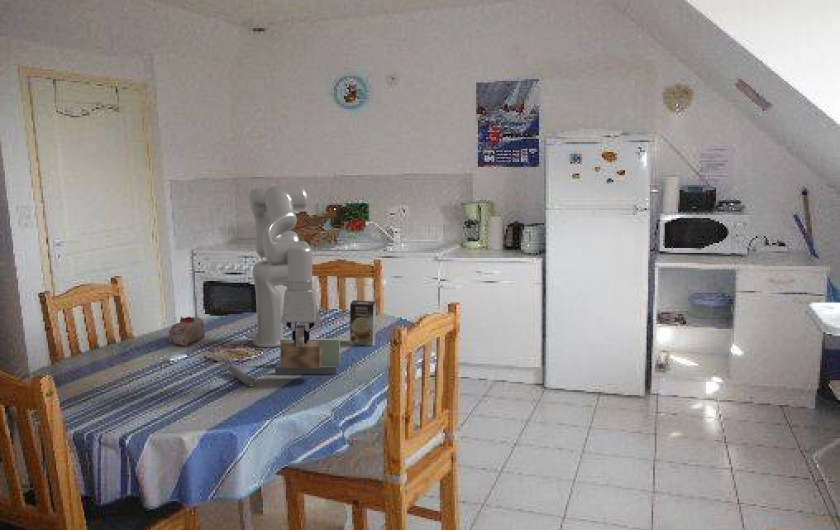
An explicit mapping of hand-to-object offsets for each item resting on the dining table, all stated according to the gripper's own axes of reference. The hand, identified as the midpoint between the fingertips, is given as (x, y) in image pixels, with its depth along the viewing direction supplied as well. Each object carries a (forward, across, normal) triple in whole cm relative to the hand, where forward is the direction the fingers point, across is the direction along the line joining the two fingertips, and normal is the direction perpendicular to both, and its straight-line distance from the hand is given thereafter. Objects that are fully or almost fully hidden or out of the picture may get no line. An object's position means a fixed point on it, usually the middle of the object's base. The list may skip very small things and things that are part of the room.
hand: (301, 341), depth 209 cm
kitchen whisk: (+14, -24, +7) cm, 28 cm away
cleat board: (+13, 0, +11) cm, 17 cm away
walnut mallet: (+8, 0, +1) cm, 8 cm away
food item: (+15, -50, +42) cm, 67 cm away
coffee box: (+14, +16, +41) cm, 46 cm away
